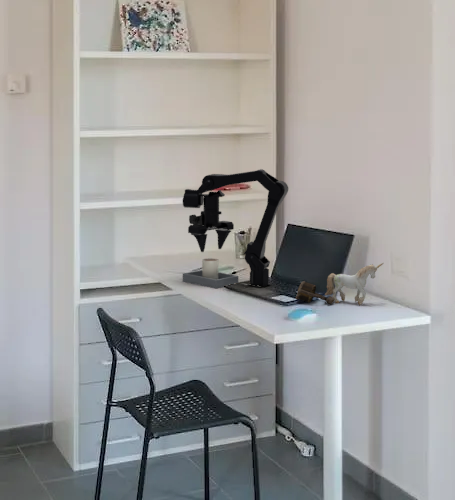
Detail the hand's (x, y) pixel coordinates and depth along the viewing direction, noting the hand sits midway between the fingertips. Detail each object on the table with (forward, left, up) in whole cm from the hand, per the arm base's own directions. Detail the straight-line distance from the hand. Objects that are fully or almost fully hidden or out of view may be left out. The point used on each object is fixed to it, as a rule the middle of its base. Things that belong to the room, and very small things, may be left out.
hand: (211, 250), depth 328 cm
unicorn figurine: (-56, -12, -12) cm, 59 cm away
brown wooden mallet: (-48, -1, -12) cm, 50 cm away
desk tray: (0, +1, -12) cm, 12 cm away
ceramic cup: (0, +1, -11) cm, 11 cm away
